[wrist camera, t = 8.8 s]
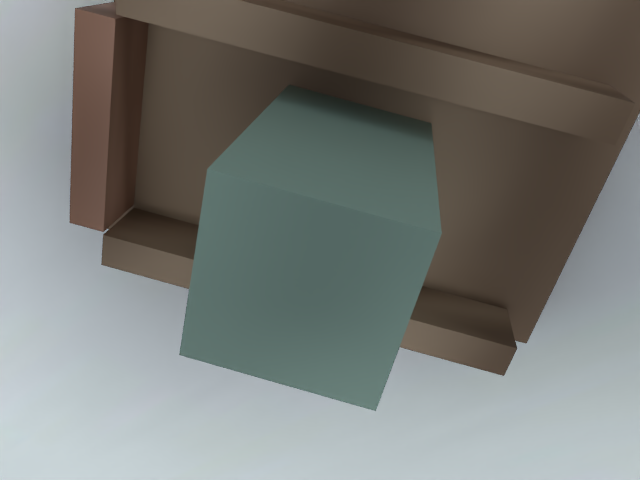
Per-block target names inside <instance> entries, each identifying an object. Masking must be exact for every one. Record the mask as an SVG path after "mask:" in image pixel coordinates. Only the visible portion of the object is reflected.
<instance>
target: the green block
mask: <svg viewBox="0 0 640 480" xmlns="http://www.w3.org/2000/svg"><path fill="white" fill-rule="evenodd" d="M441 234H442V231H441V220H440V210H439V199H438V188H437V177H436V167H435V156H434V145H433V135H432V124H431V123H429V122H425V121H421V120H418V119H414V118H410V117H407V116H403V115H399V114H395V113H392V112H388V111H384V110H381V109H377V108H373V107H370V106H366V105H362V104H359V103H355V102H351V101H348V100H344V99H340V98H336V97H333V96H329V95H325V94H322V93H318V92H314V91H311V90H307V89H303V88H300V87H296V86H292V85H288V86H287V87H286V88H285V89H284V90H283V91H282V92H281V93H280V95H279V96H278V97H277V98H276V99H275V100H274V101H273V102H272V103H271V104H270V105H269V106H268V107H267V108H266V109H265V110H264V111H263V112H262V113H261V114H260V115H259V116H258V117H257V118H256V119H255V120H254V121H253V122H252V123H251V124H250V125H249V126H248V127H247V128H246V130H245V131H244V132H243V133H242V134H241V135H240V136H239V137H238V138H237V139H236V140H235V141H234V142H233V143H232V144H231V145H230V146H229V147H228V148H227V149H226V150H225V151H224V152H223V153H222V154H221V155H220V156H219V157H218V158H217V159H216V160H215V161H214V162H213V164H212V165H211V166H210V167H209V168H208V169H207V174H206V181H205V188H204V194H203V201H202V208H201V214H200V221H199V228H198V234H197V241H196V248H195V254H194V261H193V267H192V274H191V281H190V287H189V294H188V301H187V307H186V314H185V321H184V327H183V334H182V341H181V347H180V354H179V355H181V356H185V357H188V358H192V359H195V360H199V361H202V362H206V363H209V364H213V365H216V366H220V367H223V368H227V369H230V370H234V371H237V372H241V373H244V374H248V375H251V376H255V377H258V378H262V379H265V380H269V381H272V382H276V383H279V384H283V385H286V386H290V387H294V388H297V389H301V390H304V391H308V392H311V393H315V394H318V395H322V396H325V397H329V398H332V399H336V400H339V401H343V402H346V403H350V404H353V405H357V406H360V407H364V408H367V409H371V410H374V411H376V409H377V406H378V403H379V401H380V398H381V395H382V393H383V390H384V387H385V384H386V382H387V379H388V376H389V374H390V371H391V368H392V366H393V363H394V360H395V358H396V355H397V352H398V350H399V347H400V344H401V342H402V339H403V336H404V334H405V331H406V328H407V325H408V323H409V320H410V317H411V315H412V312H413V309H414V307H415V304H416V301H417V299H418V296H419V293H420V291H421V288H422V285H423V283H424V280H425V277H426V275H427V272H428V269H429V266H430V264H431V261H432V258H433V256H434V253H435V250H436V248H437V245H438V242H439V240H440V237H441Z"/></svg>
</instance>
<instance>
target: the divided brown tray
mask: <svg viewBox="0 0 640 480" xmlns="http://www.w3.org/2000/svg"><path fill="white" fill-rule="evenodd" d="M288 85H292V86H296V87H300V88H303V89H307V90H311V91H314V92H318V93H322V94H325V95H329V96H333V97H336V98H340V99H344V100H348V101H351V102H355V103H359V104H362V105H366V106H370V107H373V108H377V109H381V110H384V111H388V112H392V113H395V114H399V115H403V116H407V117H410V118H414V119H418V120H421V121H425V122H429V123H431V124H432V135H433V145H434V156H435V167H436V177H437V188H438V199H439V210H440V220H441V231H442V234H441V237H440V240H439V242H438V245H437V248H436V250H435V253H434V256H433V258H432V261H431V264H430V266H429V269H428V272H427V275H426V277H425V280H424V283H423V285H422V288H421V291H420V293H419V296H418V299H417V301H416V304H415V307H414V309H413V312H412V315H411V317H410V320H409V323H408V325H407V328H406V331H405V334H404V336H403V339H402V342H401V344H400V347H401V348H405V349H409V350H412V351H416V352H420V353H423V354H427V355H430V356H434V357H438V358H441V359H445V360H449V361H452V362H456V363H459V364H463V365H467V366H470V367H474V368H478V369H481V370H485V371H488V372H492V373H496V374H499V375H503V376H504V375H505V372H506V370H507V368H508V366H509V364H510V362H511V360H512V358H513V356H514V354H515V352H516V350H517V346H516V342H515V340H516V341H519V342H523V343H527V341H528V339H529V337H530V335H531V333H532V331H533V329H534V327H535V325H536V323H537V321H538V319H539V317H540V315H541V312H542V310H543V308H544V306H545V304H546V302H547V300H548V298H549V296H550V294H551V292H552V290H553V288H554V286H555V284H556V282H557V280H558V278H559V276H560V274H561V272H562V270H563V268H564V266H565V263H566V261H567V259H568V257H569V255H570V253H571V251H572V249H573V247H574V245H575V243H576V241H577V239H578V237H579V235H580V233H581V231H582V229H583V227H584V225H585V223H586V221H587V219H588V217H589V214H590V212H591V210H592V208H593V206H594V204H595V202H596V200H597V198H598V196H599V194H600V192H601V190H602V188H603V186H604V184H605V182H606V180H607V178H608V176H609V174H610V172H611V170H612V167H613V165H614V163H615V161H616V159H617V157H618V155H619V153H620V151H621V149H622V147H623V145H624V143H625V141H626V139H627V137H628V135H629V133H630V131H631V129H632V127H633V125H634V123H635V121H636V118H637V116H638V114H639V112H640V0H114V2H111V3H105V4H99V5H93V6H86V7H80V8H75V32H74V71H73V110H72V149H71V188H70V223H73V224H76V225H80V226H84V227H87V228H91V229H95V230H98V231H102V232H104V231H105V230H106V229H109V230H108V231H107V232H106V233H105V234H104V235H103V248H102V265H104V266H108V267H112V268H115V269H119V270H122V271H126V272H130V273H133V274H137V275H141V276H144V277H148V278H151V279H155V280H159V281H162V282H166V283H170V284H173V285H177V286H180V287H184V288H188V289H189V287H190V281H191V274H192V267H193V261H194V254H195V248H196V241H197V234H198V228H199V221H200V214H201V208H202V201H203V194H204V188H205V181H206V174H207V169H208V168H209V167H210V166H211V165H212V164H213V162H214V161H215V160H216V159H217V158H218V157H219V156H220V155H221V154H222V153H223V152H224V151H225V150H226V149H227V148H228V147H229V146H230V145H231V144H232V143H233V142H234V141H235V140H236V139H237V138H238V137H239V136H240V135H241V134H242V133H243V132H244V131H245V130H246V128H247V127H248V126H249V125H250V124H251V123H252V122H253V121H254V120H255V119H256V118H257V117H258V116H259V115H260V114H261V113H262V112H263V111H264V110H265V109H266V108H267V107H268V106H269V105H270V104H271V103H272V102H273V101H274V100H275V99H276V98H277V97H278V96H279V95H280V93H281V92H282V91H283V90H284V89H285V88H286V87H287V86H288Z"/></svg>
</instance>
